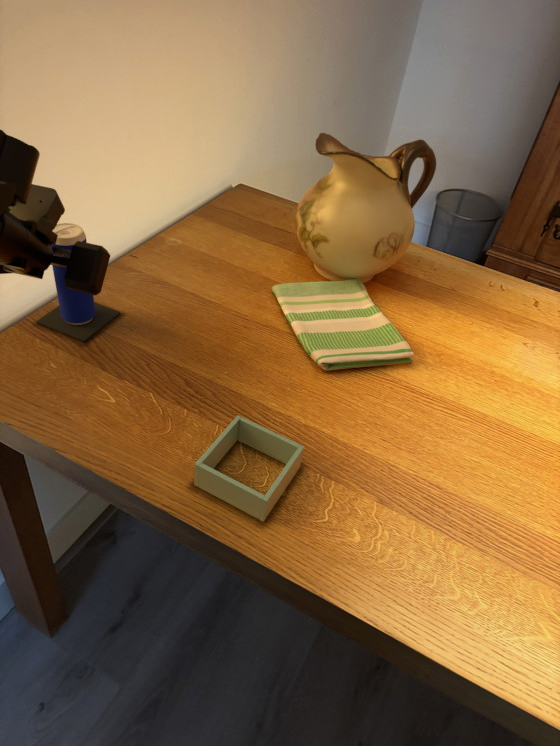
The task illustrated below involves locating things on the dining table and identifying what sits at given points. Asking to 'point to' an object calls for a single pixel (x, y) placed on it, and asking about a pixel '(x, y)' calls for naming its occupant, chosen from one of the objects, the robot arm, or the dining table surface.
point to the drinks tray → (235, 490)
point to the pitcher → (361, 209)
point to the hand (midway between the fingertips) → (64, 274)
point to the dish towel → (341, 325)
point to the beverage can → (71, 303)
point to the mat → (79, 331)
